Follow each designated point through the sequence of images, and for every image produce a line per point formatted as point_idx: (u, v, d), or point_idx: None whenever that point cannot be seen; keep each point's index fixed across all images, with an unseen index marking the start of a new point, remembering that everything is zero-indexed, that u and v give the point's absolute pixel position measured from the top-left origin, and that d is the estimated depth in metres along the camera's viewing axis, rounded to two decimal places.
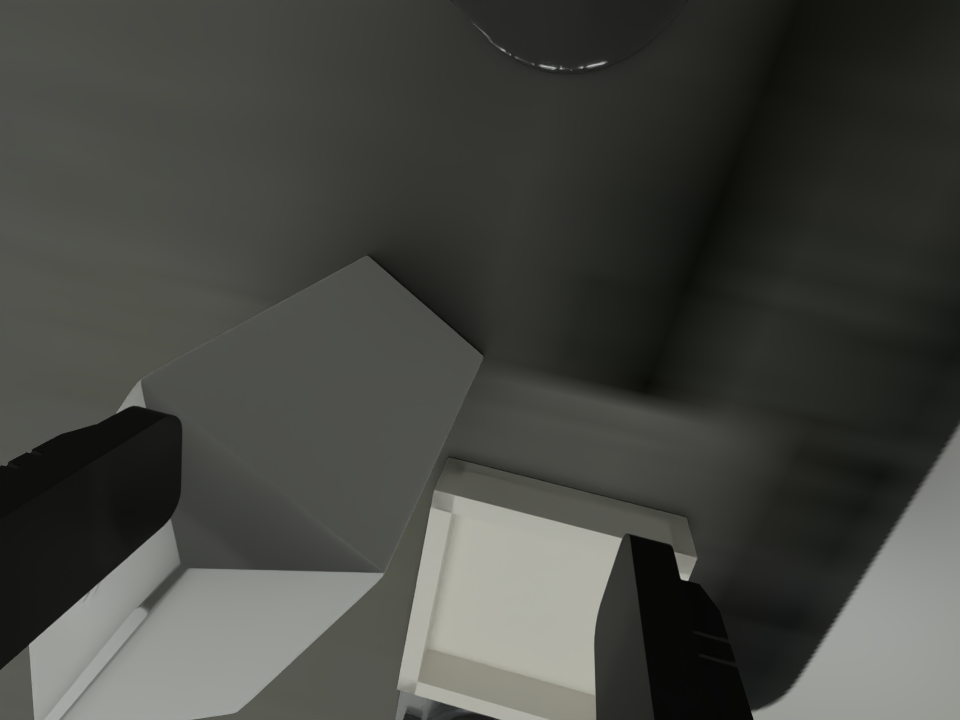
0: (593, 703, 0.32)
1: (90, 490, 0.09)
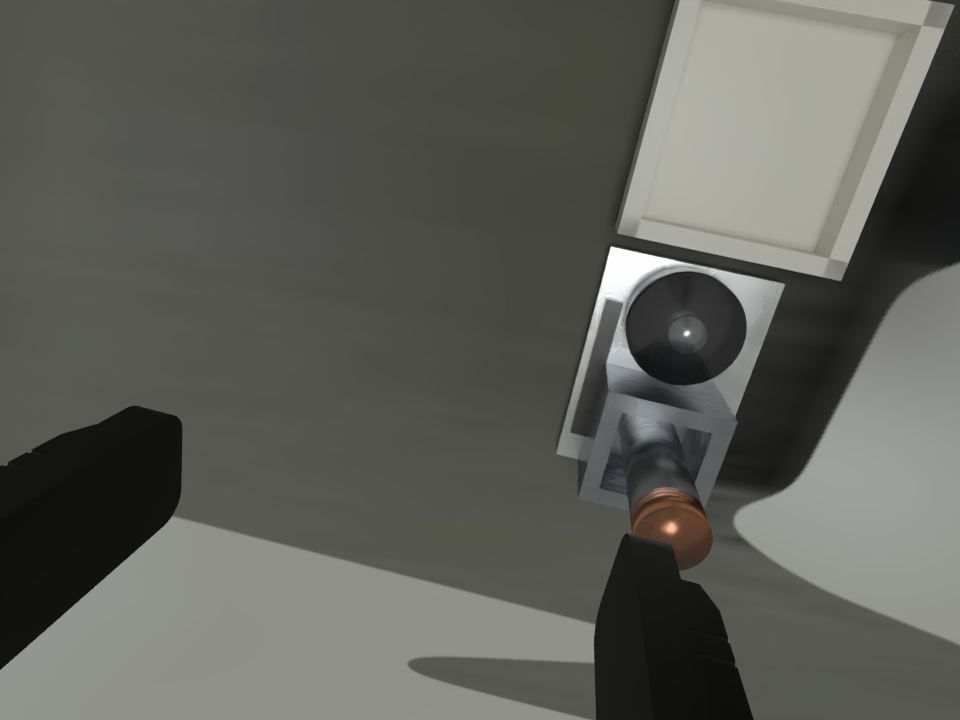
0: (808, 251, 0.33)
1: (90, 491, 0.09)
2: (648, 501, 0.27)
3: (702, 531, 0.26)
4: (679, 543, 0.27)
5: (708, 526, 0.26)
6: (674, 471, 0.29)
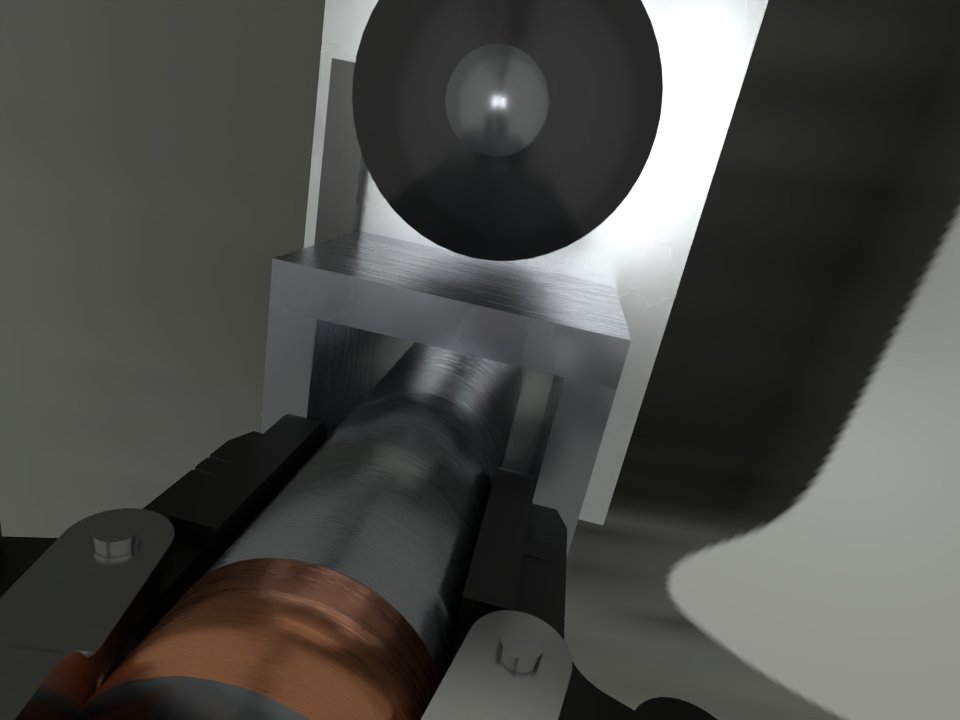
0: None
1: (273, 493, 0.09)
2: (159, 626, 0.06)
3: None
4: None
5: None
6: (370, 488, 0.08)
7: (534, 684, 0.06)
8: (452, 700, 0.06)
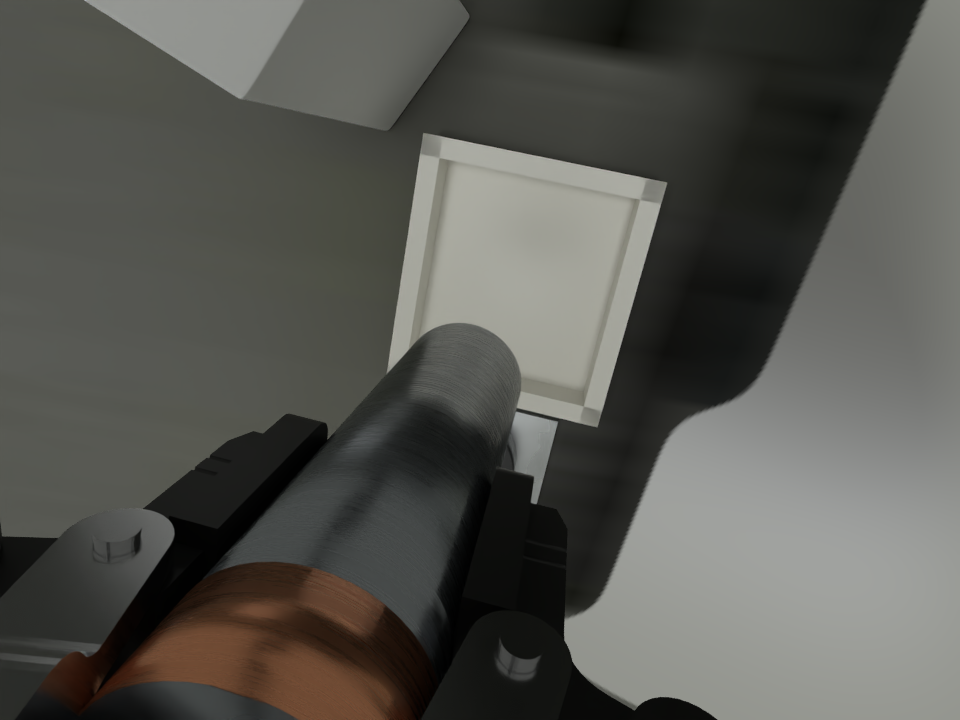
0: (574, 393, 0.34)
1: (274, 493, 0.09)
2: (157, 630, 0.06)
3: None
4: None
5: None
6: (369, 492, 0.08)
7: (534, 684, 0.06)
8: (452, 700, 0.06)
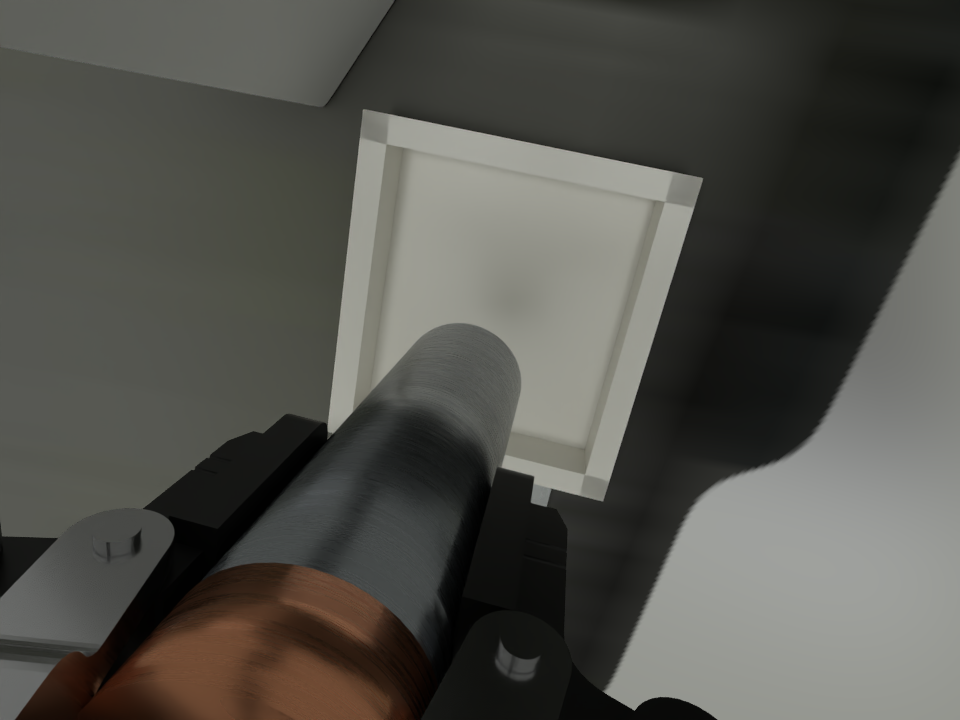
0: (573, 452, 0.26)
1: (274, 493, 0.09)
2: (156, 631, 0.06)
3: None
4: None
5: None
6: (369, 493, 0.08)
7: (534, 685, 0.06)
8: (452, 700, 0.06)
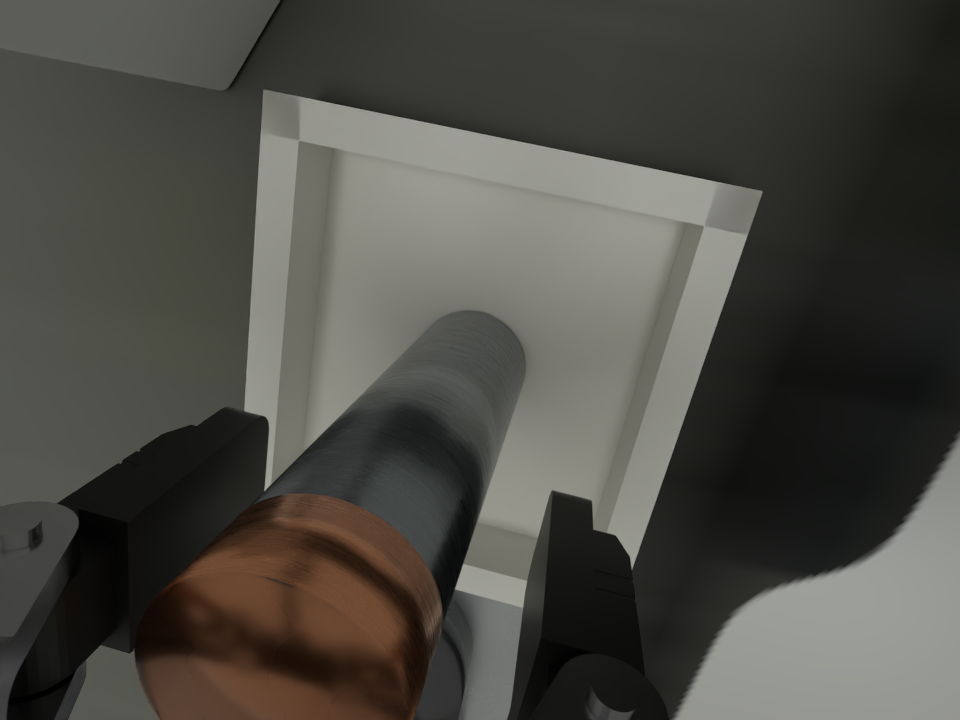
0: None
1: (201, 487, 0.09)
2: (210, 544, 0.07)
3: (362, 673, 0.07)
4: (294, 710, 0.07)
5: (381, 656, 0.06)
6: (385, 446, 0.09)
7: None
8: None
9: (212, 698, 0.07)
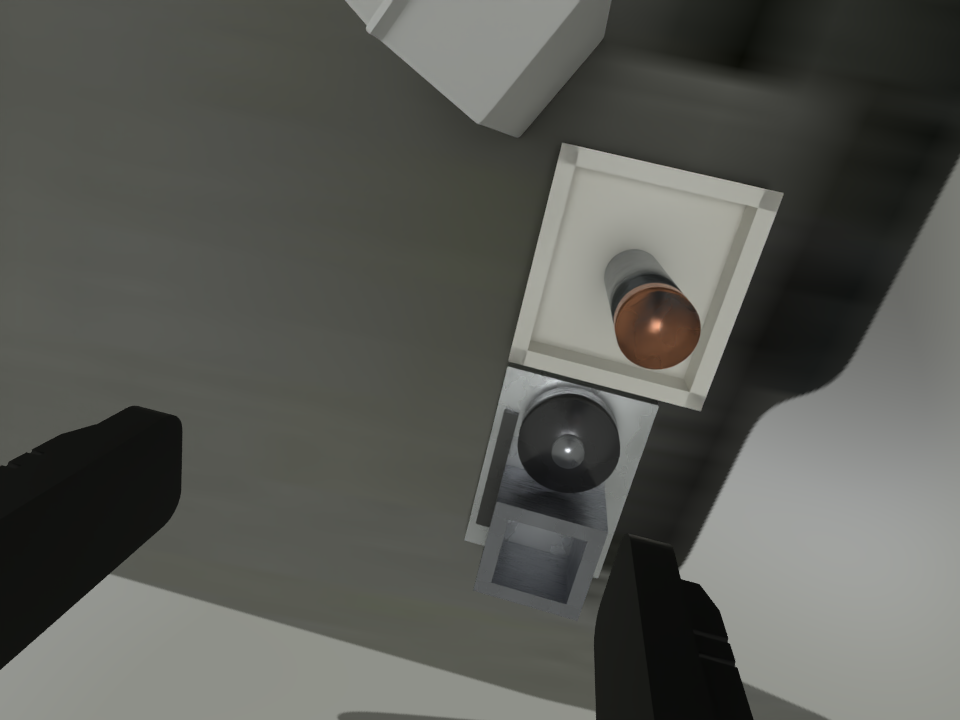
0: (677, 380, 0.37)
1: (90, 490, 0.09)
2: (633, 293, 0.25)
3: (689, 319, 0.24)
4: (665, 335, 0.25)
5: (696, 313, 0.24)
6: (661, 277, 0.27)
7: None
8: None
9: (639, 334, 0.25)
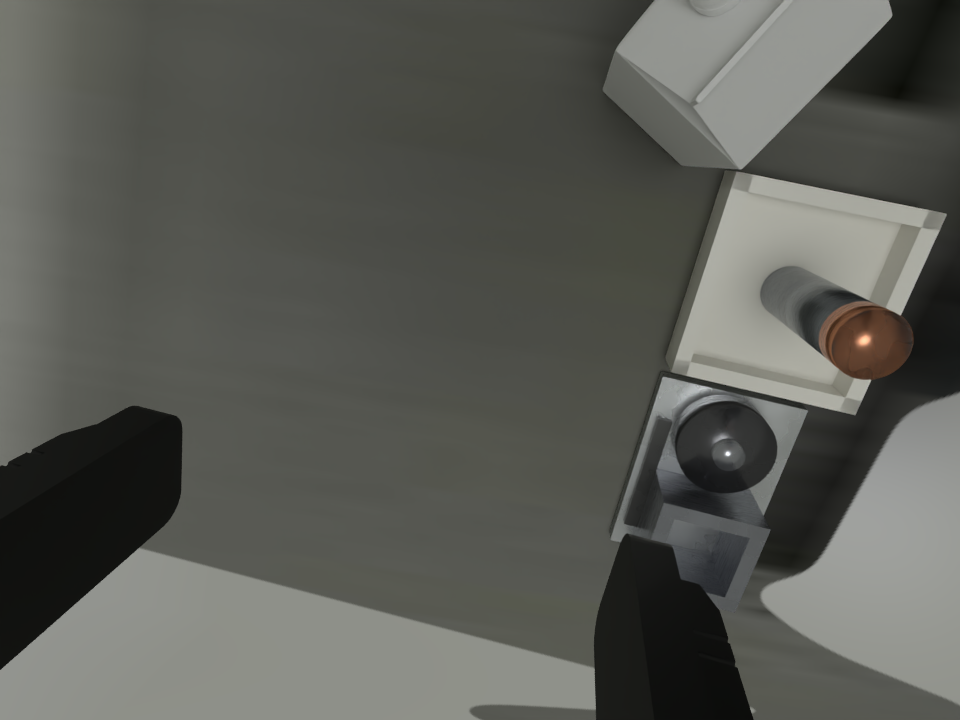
0: (827, 386, 0.40)
1: (90, 490, 0.09)
2: (844, 312, 0.28)
3: (903, 334, 0.27)
4: (878, 349, 0.28)
5: (910, 329, 0.27)
6: (857, 295, 0.30)
7: None
8: None
9: (853, 348, 0.28)
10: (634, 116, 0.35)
